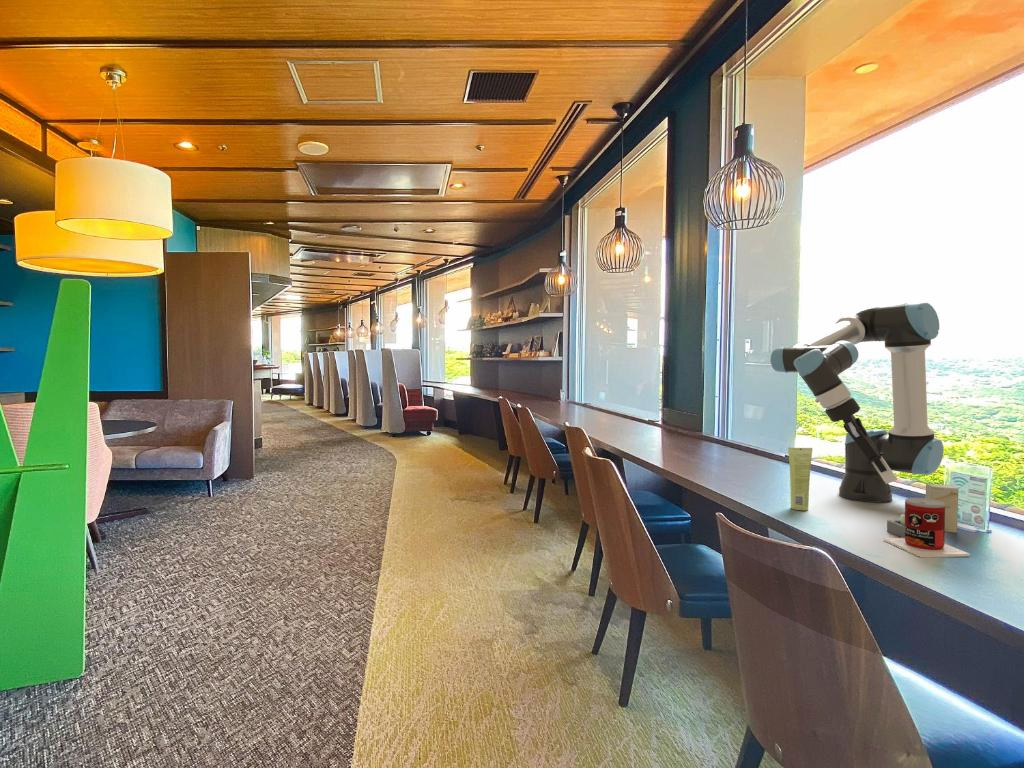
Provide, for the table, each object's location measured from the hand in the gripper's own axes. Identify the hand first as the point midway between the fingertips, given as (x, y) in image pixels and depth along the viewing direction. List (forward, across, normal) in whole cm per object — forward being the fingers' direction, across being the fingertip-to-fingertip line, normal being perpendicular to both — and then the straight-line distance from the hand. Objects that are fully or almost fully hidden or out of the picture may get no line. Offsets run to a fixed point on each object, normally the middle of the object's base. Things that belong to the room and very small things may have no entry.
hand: (891, 481), depth 139 cm
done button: (+14, -5, -3) cm, 15 cm away
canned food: (+16, +6, -2) cm, 17 cm away
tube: (+4, -19, -28) cm, 34 cm away
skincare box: (+21, -14, +2) cm, 25 cm away
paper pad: (+16, +6, -2) cm, 17 cm away
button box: (+16, -4, -4) cm, 17 cm away
